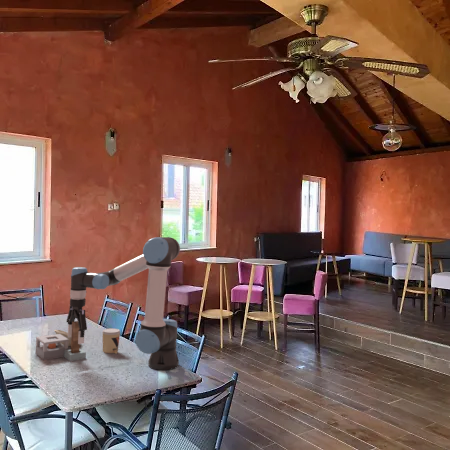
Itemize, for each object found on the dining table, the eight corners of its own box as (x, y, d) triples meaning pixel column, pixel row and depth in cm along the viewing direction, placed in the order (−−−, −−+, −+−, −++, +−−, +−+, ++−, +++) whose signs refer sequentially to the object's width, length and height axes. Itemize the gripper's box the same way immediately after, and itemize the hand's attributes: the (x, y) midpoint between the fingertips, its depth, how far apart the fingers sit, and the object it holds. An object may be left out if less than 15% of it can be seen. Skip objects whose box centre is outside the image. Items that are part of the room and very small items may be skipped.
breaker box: (67, 357, 220) (68, 339, 220) (43, 361, 212) (44, 342, 212) (58, 351, 229) (59, 333, 229) (35, 355, 221) (36, 336, 221)
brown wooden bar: (79, 357, 218) (81, 322, 218) (72, 358, 216) (74, 322, 216) (76, 356, 220) (78, 320, 220) (70, 357, 218) (72, 321, 218)
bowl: (85, 347, 238) (86, 329, 238) (61, 352, 228) (62, 333, 228) (72, 341, 249) (73, 324, 249) (48, 345, 238) (49, 327, 238)
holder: (85, 360, 218) (85, 352, 218) (69, 362, 212) (70, 354, 212) (79, 355, 224) (79, 348, 224) (63, 358, 218) (64, 350, 218)
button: (56, 352, 220) (57, 342, 220) (49, 353, 218) (49, 343, 218) (54, 350, 223) (54, 340, 223) (46, 351, 220) (47, 341, 220)
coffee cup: (114, 356, 226) (115, 333, 226) (98, 354, 228) (99, 331, 228) (122, 351, 236) (123, 329, 235) (106, 349, 237) (107, 327, 237)
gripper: (95, 301, 211) (93, 345, 211) (75, 293, 229) (73, 333, 230) (80, 303, 206) (78, 347, 206) (61, 294, 224) (59, 335, 225)
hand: (75, 340), depth 218 cm, fingers open, 12 cm apart
